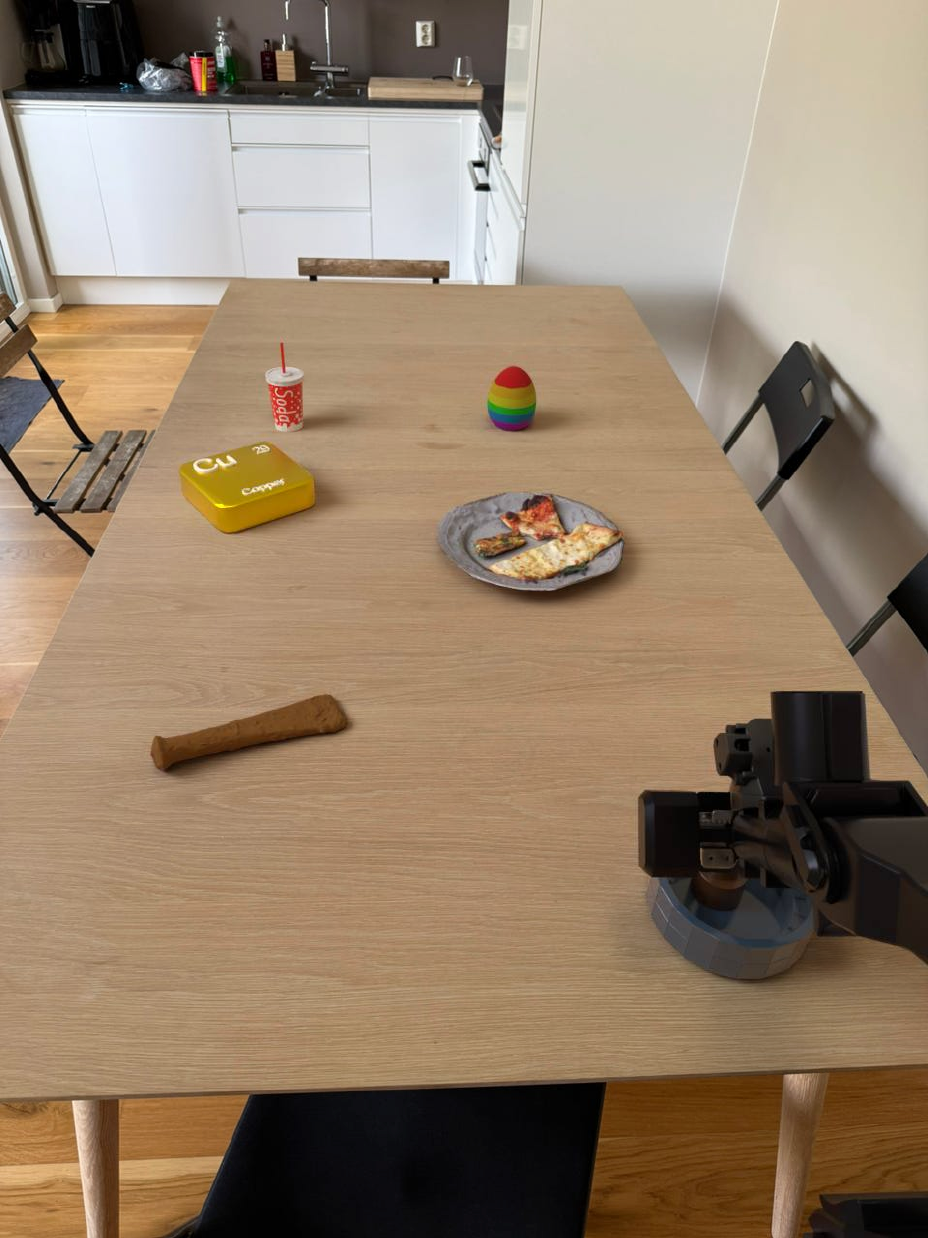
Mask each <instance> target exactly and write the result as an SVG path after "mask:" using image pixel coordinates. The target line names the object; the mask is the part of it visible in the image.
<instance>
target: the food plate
mask: <svg viewBox="0 0 928 1238" xmlns="http://www.w3.org/2000/svg"><path fill="white" fill-rule="evenodd" d="M437 530H438V531H437V537H436V538H437V541H438V543H439V546H440V548H441V549H442V551H443V552H444V554H445V555H447V556H448V557H449V559H450V560H452V562H453V563H455V565H456V566H458V567H459V568H460V569H462V570H463V571H464V572H466V574H468V575H469V576H471V577H473V578H474V579H477V580H480V581H482V582H486V583H490V584H494V585H496V586H499V587H503V588H509V589H514V590H522V591H539V592H541V591H543V592H544V591H548V592H550V591H551V592H552V591H556V590H558V589H563V588H566V587H568V586H570V585H574V584H576V585H577V584H579V583H581V582H585V581H588V580H589V579H592V578H595V577H599V576H601V575H604V574H605V573H610V572H612V571H614V570H615V569H616V568H618V567H619V566H620V565H621V563H622V561H623V556H624V549H625V544H626V543H625V541H624V539H623V535H624V534H623V532H622V531H621V530H619V528H618V526H616V524H614V522H613V521H611V520H610V519H609V518H608V517H607V516H606V515H605V514H604V513H602V512H601V510H598V509H596V508H594V507H592V506H591V505H589V504H586V503H584V502H581V501H578V500H575V499H571V498H568V497H565V496H561V495H559V494H554V493H550V492H549V493H547V492H546V493H545V492H538V493H536V492H531V491H524V492H511V491H510V492H503V493H499V494H495V495H491V496H488V497H485V498H480V499H477V500H474V501H469V502H466V503H464V504H460V505H456V506H454V507H453V508H452V509H450V510H449V511H446V513H445V514H444V515H443V516H442V517H441V519H440V522H439V524H438V527H437Z"/></svg>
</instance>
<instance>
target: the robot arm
mask: <svg viewBox="0 0 928 1238" xmlns="http://www.w3.org/2000/svg"><path fill="white" fill-rule="evenodd" d="M769 695H770V696H769V697H770V715H771V716H770V717H771V718H761V717H760V718H753V719H751V720H749V721H748V722H747V723H745V722H743V723H741V722H738V723H737V722H736V723H735V724H726V725H725V728H724V730H725V731H724V732H719V733H718V734H717V735H716V736H715V738H714V739H713V744H712V747H713V754H714V761H715V770H716V773H717V774H718V776H720V777H729V778H730V779H731V781H732V783H733V785H734V786H739V792H732V809H733V810H731V792H728V791H697V792H696V791H694V790H681V789H679V790H677V789H644V790H643V791H642V792H641V793H640V795H638V796H637V852H638V853H637V854H638V855H637V857H638V858H637V860H638V861H637V863H638V867H639V868H640V870H641V871H643V872H644V874H646V875H647V876H648V877H649V876H650V877H663V878H697V876H698V873H699V871H700V872H720V873H732V867H733V866H734V865H735V864H736V862H737V860H738V859H740V876H741V877H743V878H760V886H763V887H765V888H793V889H796V890H798V891H800V892H803V893H805V894H807V895H809V896H810V897H811V898H812V902H813V922H814V931H813V933H814V935H815V937H818V938H863V939H868V940H871V941H875V942H879V943H883V944H888V945H891V946H895V947H898V948H901V949H903V950H905V951H907V952H908V953H911V954H913V955H914V957H916V958H918V959H919V960H920V961H921V962H922V963H924V965H926V966H927V967H928V805H927V803H926V802H925V800H924V799H923V797H922V796H921V795H920V793H919V792H918V791H917V789H916V788H915V787H914V785H913V784H912V782H911V781H910V780H907V779H906V780H905V779H904V780H902V779H901V780H898V779H897V780H890V779H889V780H888V779H887V780H881V779H873V778H871V770H870V751H869V737H868V736H869V735H868V718H867V717H868V716H867V701H866V693H865V692H864V691H863V690H775V691H770V692H769ZM732 847H733V849H732ZM818 1198H819V1199H818V1200H819V1203H820V1205H821V1207H817V1208H815V1209H813V1210H812V1211H811V1213H810V1215H809V1217H808V1220H807V1221H808V1223H809V1226H810V1228H811V1230H812V1232H804V1233H803V1235H802V1236H801V1238H928V1190H914V1191H912V1190H910V1191H909V1190H908V1191H882V1192H881V1191H879V1192H878V1191H877V1192H848V1193H847V1192H845V1193H844V1192H843V1193H819V1195H818Z"/></svg>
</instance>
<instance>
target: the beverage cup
mask: <svg viewBox="0 0 928 1238" xmlns="http://www.w3.org/2000/svg"><path fill="white" fill-rule="evenodd" d="M279 346H280V347H279V348H280V357H281V366H278V367H274V368H273V367H272V368H270V369H269V370H266V372H265V373H264V377H265V382H266V383H267V386H268V392H269V398H270V404H271V410H272V416H273V422H274V428H275V429H276V430H277V431H278V432H279V431H280V432H284V433H294V432H296V431H299V430H301V429H302V428H303V427H304V404H303V403H304V399H303V392H304V391H303V381H304V380H305V379H304V378H305V374H304V371H303V370H302V369H301V368H298V367H294V366H286V360H285V350H284V342H279Z"/></svg>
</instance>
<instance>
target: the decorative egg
mask: <svg viewBox="0 0 928 1238" xmlns="http://www.w3.org/2000/svg"><path fill="white" fill-rule="evenodd" d="M486 402H487V403H486V404H487V412H488V415H489V419H490V420H491V422H492V423H493V424H494V426H496V427H497V428H498V429H501V430H505V431H520V430H522V429H524V428H526V427H527V426H528V425H529V424H530V422H531V421H532V420H533V418H534V415H535V413H536V408H537V393H536V388H535V385H534V382H533V380H532V378H531V376H530V375H529V374H528V372H526V371H525V370H524V369H523V368H521V367H520V366H517V365H511V366H507V367H505V368H504V369H503V370H501V371H500V372H499V373H498V374H497V375H496V377H495V378H494V379H493V381H492V383H491V385H490V388H489V391H488V395H487V401H486Z"/></svg>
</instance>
